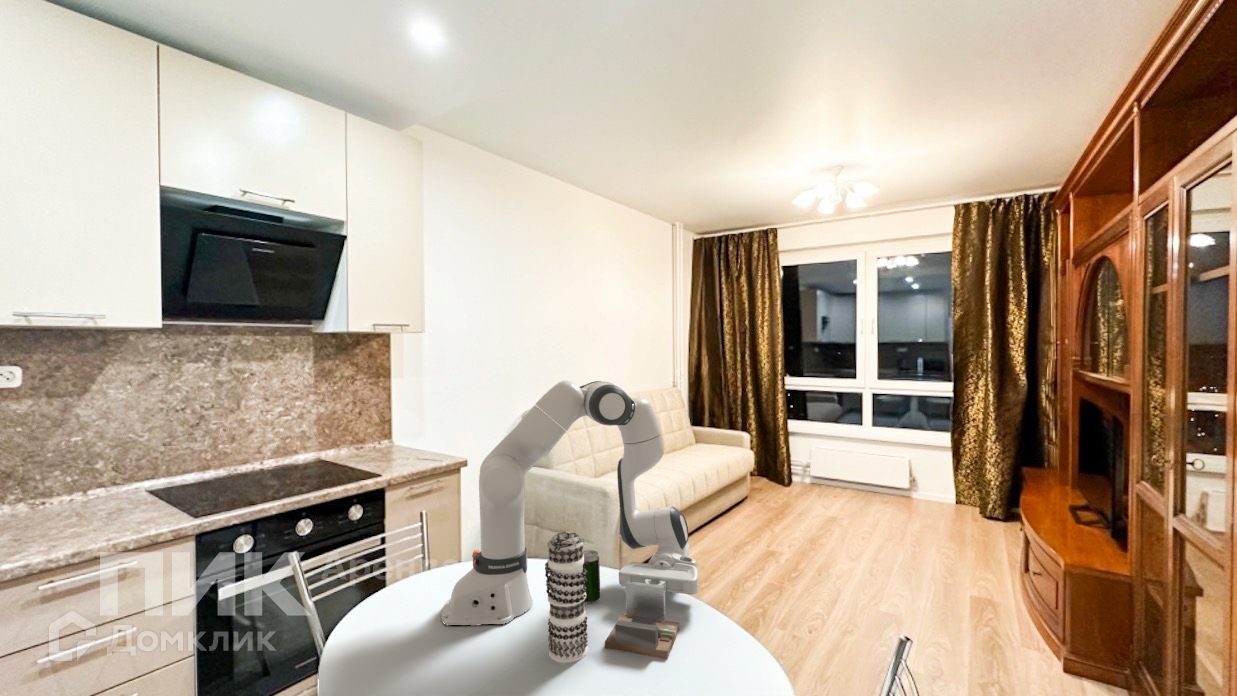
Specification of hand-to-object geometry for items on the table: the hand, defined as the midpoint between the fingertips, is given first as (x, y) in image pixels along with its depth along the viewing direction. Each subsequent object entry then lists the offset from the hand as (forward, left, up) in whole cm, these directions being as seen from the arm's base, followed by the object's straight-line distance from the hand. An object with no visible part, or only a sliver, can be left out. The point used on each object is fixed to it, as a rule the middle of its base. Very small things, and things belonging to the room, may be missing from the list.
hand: (651, 592), depth 123 cm
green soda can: (-13, +15, -7) cm, 21 cm away
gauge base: (-4, -6, -7) cm, 10 cm away
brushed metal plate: (-2, -7, -5) cm, 9 cm away
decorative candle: (-21, -7, -7) cm, 23 cm away
